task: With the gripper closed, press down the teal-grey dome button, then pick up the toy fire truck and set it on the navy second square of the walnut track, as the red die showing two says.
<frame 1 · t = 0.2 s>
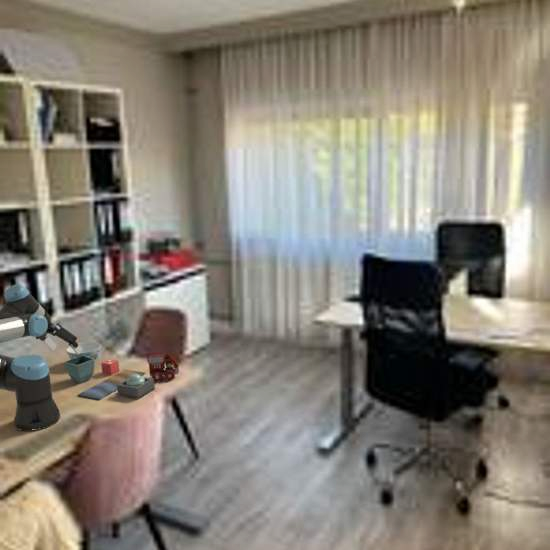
hand: (66, 349, 234), 15 cm above the table, tool tilted 35°, fingers open, 13 cm apart
dome cap: (135, 380, 227), point 5 cm above the table, slide at 0.0 cm
flower pot: (81, 380, 243), on the table
die: (110, 372, 250), on the table
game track: (113, 384, 237), on the table
toy fire truck: (164, 378, 241), on the table
dome housing: (136, 392, 228), on the table
chinaware: (86, 364, 262), on the table
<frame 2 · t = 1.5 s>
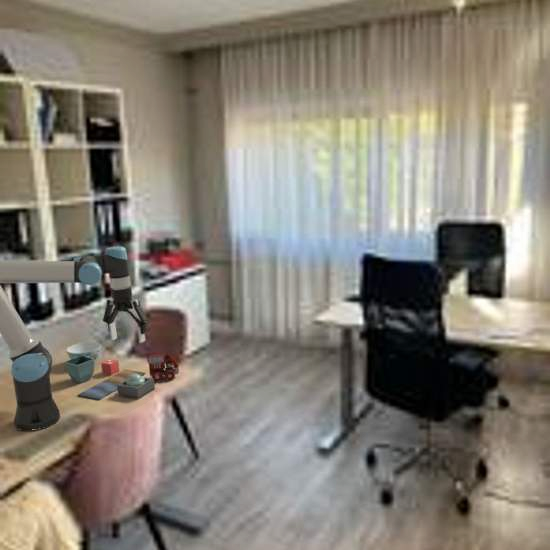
hand: (128, 340, 224), 21 cm above the table, tool pointing down, fingers open, 13 cm apart
nothing on the table moved.
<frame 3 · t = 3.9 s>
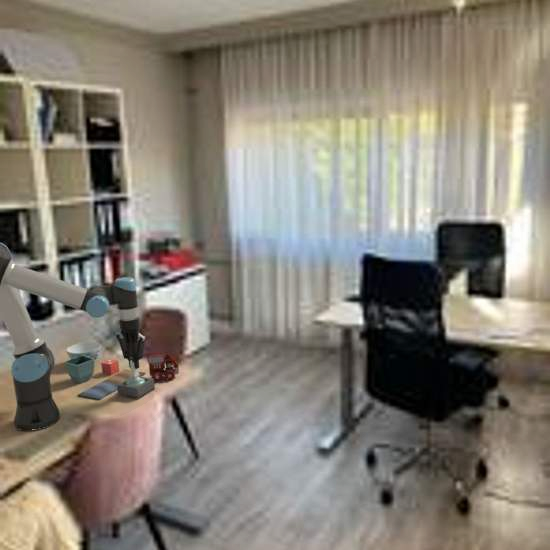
hand: (135, 375, 226), 7 cm above the table, tool pointing down, fingers closed
dome cap: (135, 382, 227), point 4 cm above the table, slide at 0.9 cm, touching gripper
everything else where it was.
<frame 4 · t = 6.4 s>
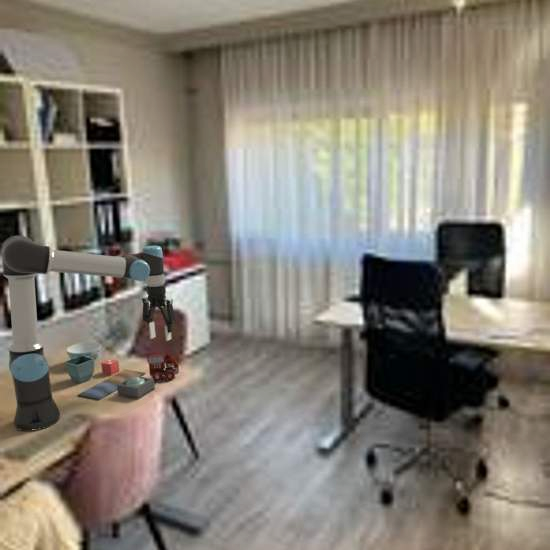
hand: (160, 338, 237), 17 cm above the table, tool pointing down, fingers open, 7 cm apart
dome cap: (135, 382, 227), point 4 cm above the table, slide at 1.0 cm
everything else where it was.
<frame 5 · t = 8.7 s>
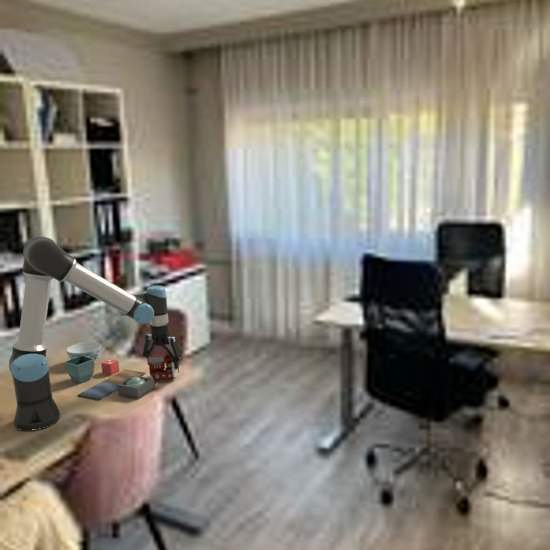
hand: (163, 374, 241), 2 cm above the table, tool pointing down, fingers closed on toy fire truck, 11 cm apart
toy fire truck: (164, 378, 241), on the table, touching gripper
everything else where it was.
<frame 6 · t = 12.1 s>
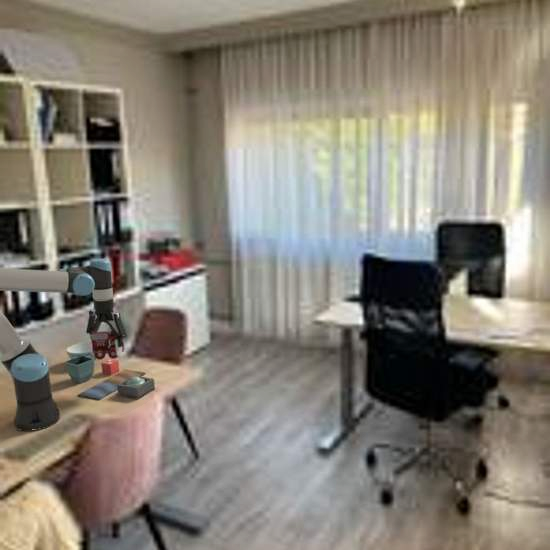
hand: (107, 352, 229), 15 cm above the table, tool pointing down, fingers closed on toy fire truck, 11 cm apart
toy fire truck: (108, 357, 229), point 14 cm above the table, touching gripper
everything else where it was.
when the fingers open (4 cm above the table, at t = 15.5 s): toy fire truck drops 1 cm, resting on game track.
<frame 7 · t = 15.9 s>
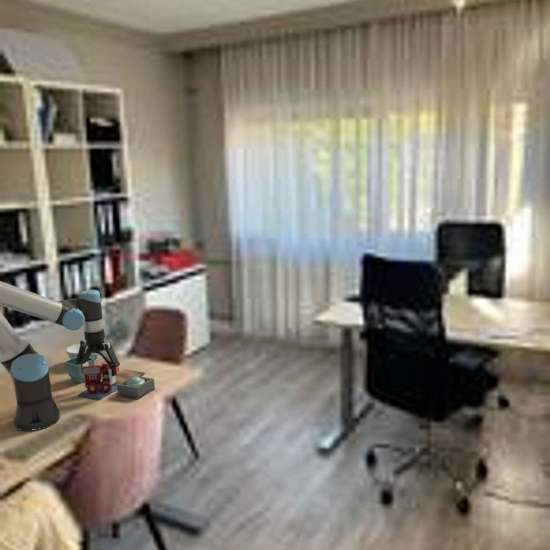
hand: (99, 381, 230), 4 cm above the table, tool pointing down, fingers open, 13 cm apart
toy fire truck: (101, 390, 230), resting on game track
everything else where it was.
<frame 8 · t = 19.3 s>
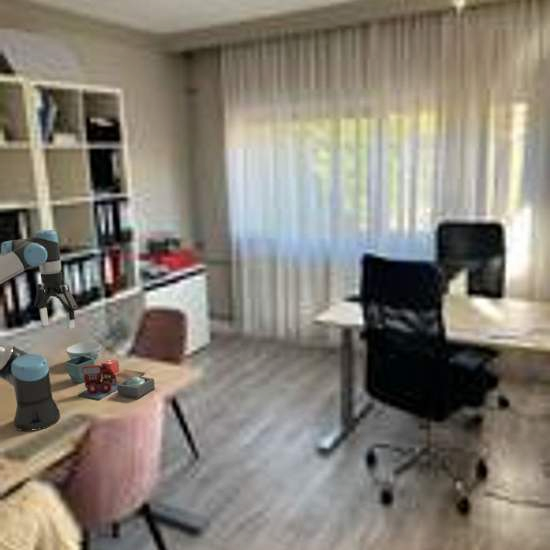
hand: (58, 326, 220), 29 cm above the table, tool pointing down, fingers open, 13 cm apart
nothing on the table moved.
at the end: dome cap slide at 1.0 cm; toy fire truck inside the target area (0.1 cm from its centre), resting on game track; toy fire truck tilted 0° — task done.
